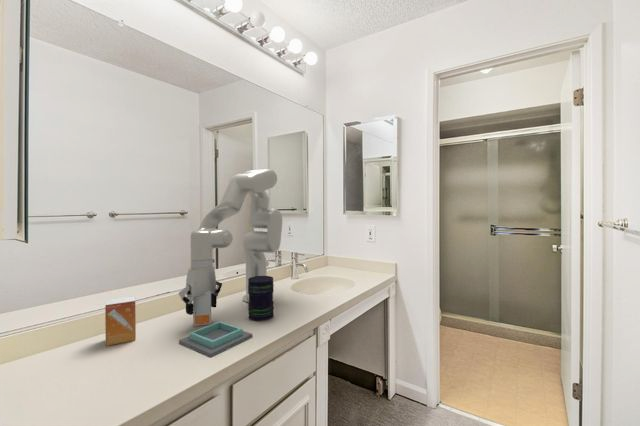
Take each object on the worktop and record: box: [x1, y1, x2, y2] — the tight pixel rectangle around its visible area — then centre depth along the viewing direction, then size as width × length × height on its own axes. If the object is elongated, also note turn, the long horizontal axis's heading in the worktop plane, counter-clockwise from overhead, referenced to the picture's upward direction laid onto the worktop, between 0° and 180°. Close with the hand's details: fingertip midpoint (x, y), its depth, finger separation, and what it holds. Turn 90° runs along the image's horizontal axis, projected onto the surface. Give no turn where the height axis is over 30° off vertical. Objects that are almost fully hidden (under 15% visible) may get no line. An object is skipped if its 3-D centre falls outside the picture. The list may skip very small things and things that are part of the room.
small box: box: [104, 295, 137, 347], centre depth 97 cm, size 8×6×13 cm
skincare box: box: [192, 291, 212, 327], centre depth 111 cm, size 6×4×12 cm
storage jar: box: [247, 275, 275, 322], centre depth 117 cm, size 10×10×15 cm
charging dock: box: [178, 321, 253, 358], centre depth 97 cm, size 16×16×3 cm
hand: (201, 310), depth 110 cm, fingers open, 9 cm apart
